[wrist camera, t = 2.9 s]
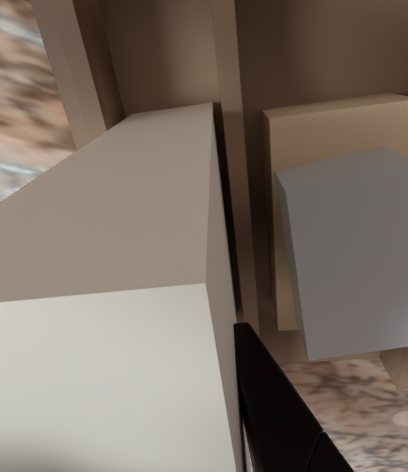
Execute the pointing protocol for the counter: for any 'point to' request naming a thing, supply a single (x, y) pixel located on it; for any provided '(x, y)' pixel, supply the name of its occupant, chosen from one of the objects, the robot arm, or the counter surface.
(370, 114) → the oak offcut
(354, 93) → the rack
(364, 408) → the counter surface
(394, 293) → the grey offcut
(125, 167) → the panel
